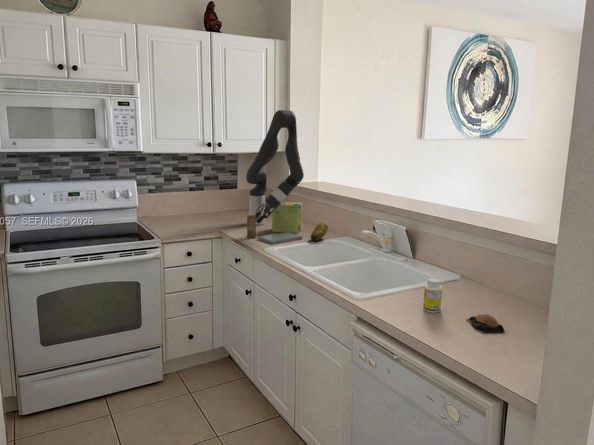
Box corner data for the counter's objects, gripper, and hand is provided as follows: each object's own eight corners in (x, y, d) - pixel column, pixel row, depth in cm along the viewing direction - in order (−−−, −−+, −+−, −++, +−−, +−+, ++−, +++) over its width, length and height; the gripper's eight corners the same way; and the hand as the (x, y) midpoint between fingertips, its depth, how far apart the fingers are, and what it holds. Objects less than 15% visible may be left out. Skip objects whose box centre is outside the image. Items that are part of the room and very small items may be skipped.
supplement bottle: (427, 305, 160) (429, 276, 158) (443, 309, 157) (445, 279, 155) (420, 310, 156) (422, 280, 154) (436, 314, 153) (438, 283, 151)
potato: (304, 240, 250) (304, 224, 248) (321, 236, 259) (321, 221, 257) (315, 242, 244) (315, 227, 242) (332, 239, 253) (333, 224, 251)
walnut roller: (245, 237, 254) (245, 215, 252) (252, 236, 257) (252, 214, 255) (250, 238, 251) (250, 216, 249) (257, 237, 254) (257, 215, 251)
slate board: (258, 239, 250) (258, 236, 249) (286, 234, 262) (286, 231, 261) (273, 244, 240) (273, 241, 240) (302, 239, 252) (302, 236, 252)
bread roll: (463, 321, 149) (464, 309, 149) (489, 320, 150) (490, 308, 149) (480, 336, 139) (481, 323, 138) (508, 334, 140) (509, 322, 139)
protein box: (298, 233, 266) (299, 205, 263) (271, 231, 269) (271, 204, 266) (302, 229, 276) (302, 202, 273) (276, 227, 279) (276, 201, 276)
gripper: (267, 192, 260) (246, 214, 258) (275, 195, 247) (253, 218, 245) (276, 201, 263) (256, 223, 261) (285, 205, 250) (263, 228, 248)
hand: (255, 221), depth 253 cm, fingers open, 8 cm apart
